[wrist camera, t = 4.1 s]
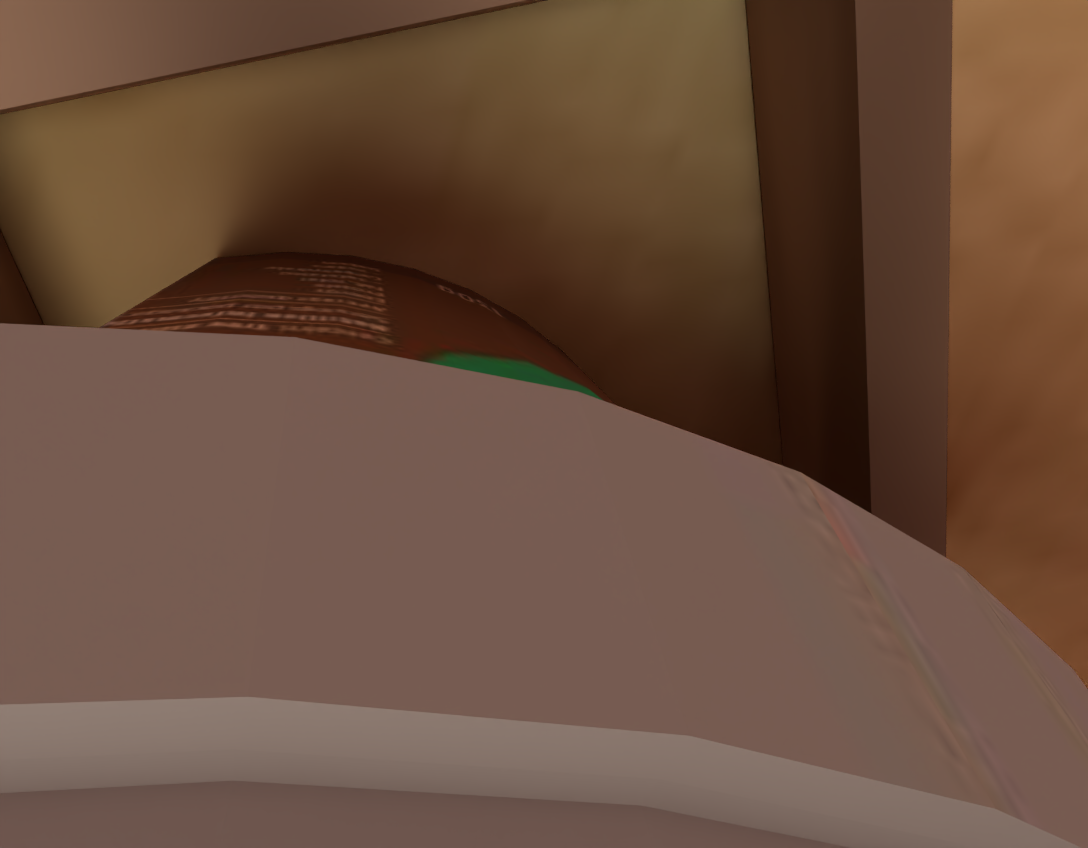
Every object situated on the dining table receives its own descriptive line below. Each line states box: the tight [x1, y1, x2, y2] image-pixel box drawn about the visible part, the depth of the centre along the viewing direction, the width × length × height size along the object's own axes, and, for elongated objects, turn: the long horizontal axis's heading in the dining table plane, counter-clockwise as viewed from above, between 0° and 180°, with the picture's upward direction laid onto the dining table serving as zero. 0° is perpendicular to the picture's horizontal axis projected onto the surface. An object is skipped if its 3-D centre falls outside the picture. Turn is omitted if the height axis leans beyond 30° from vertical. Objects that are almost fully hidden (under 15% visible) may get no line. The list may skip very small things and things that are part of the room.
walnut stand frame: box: [0, 0, 952, 557], centre depth 11 cm, size 11×16×2 cm
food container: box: [0, 252, 1088, 848], centre depth 8 cm, size 12×6×10 cm, turn 7°
